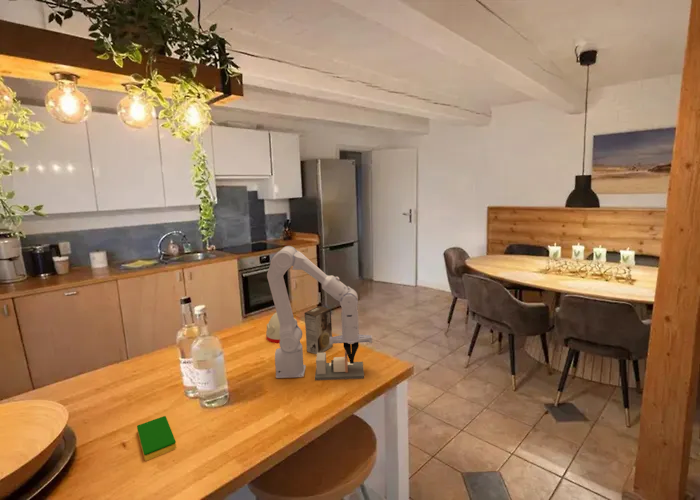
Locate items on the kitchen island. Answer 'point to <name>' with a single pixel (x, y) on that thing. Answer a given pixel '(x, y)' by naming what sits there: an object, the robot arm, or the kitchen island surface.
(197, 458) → the kitchen island surface
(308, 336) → the coffee box
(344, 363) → the cream and red block
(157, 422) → the dish sponge
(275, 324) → the kitchen timer
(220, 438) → the kitchen island surface
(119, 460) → the kitchen island surface
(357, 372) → the board
